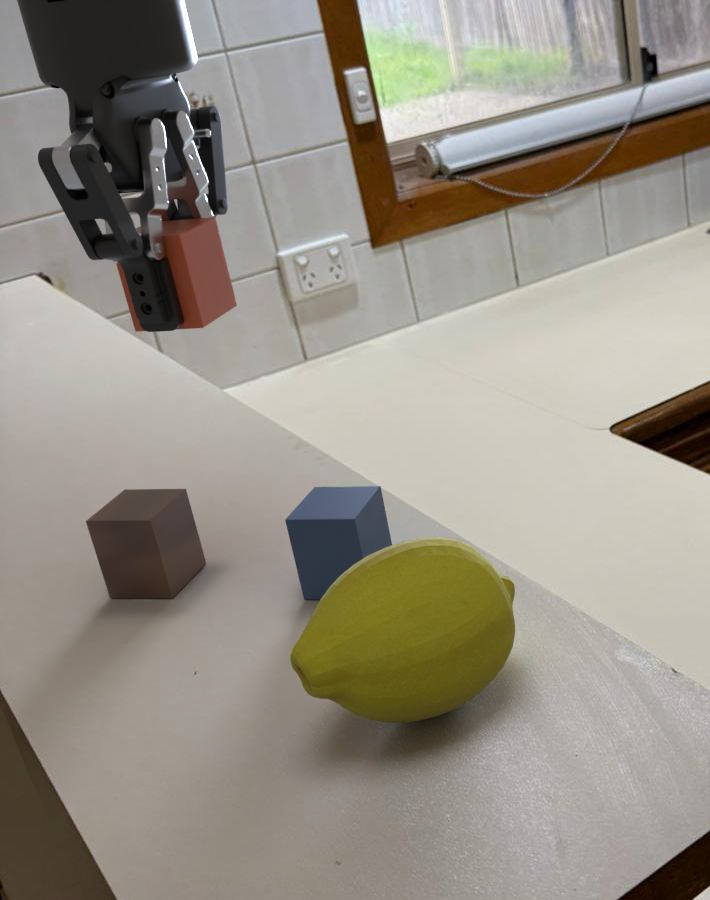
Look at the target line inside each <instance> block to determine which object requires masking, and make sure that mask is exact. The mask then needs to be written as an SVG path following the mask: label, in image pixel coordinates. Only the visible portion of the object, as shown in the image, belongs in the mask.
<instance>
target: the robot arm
mask: <svg viewBox="0 0 710 900" xmlns="http://www.w3.org/2000/svg"><path fill="white" fill-rule="evenodd" d="M16 1H17V5H18V7H19V8H18V9H19V12H20V15H21V19H22V22H23V26H24V29H25V33H26V37H27V40H28V43H29V47H30V50H31V54H32V57H33V61H34V64H35V67H36V71H37V74H38V77H39V79H40V81H41V82H42V83H43V84H44V85H45V86H46V87H48V88H51V89H61V90H62V91H63V92H64V93H65V95H66V97H67V103H68V126H69V131H70V132H69V133H70V135H69V137H68V138H66V139H65V141H63V143H61V145H57V146H52V147H42V148H40V149H39V151H38V153H37V161H38V165H39V168H40V170H41V172H42V174H43V175H44V177H45V180H46V181H47V183H48V185H49V187H50V189H51V190H52V192H53V194H54V196H55V198H56V200H57V202H58V203H59V205H60V207H61V209H62V212H63V213H64V215H65V216H66V218H67V220H68V222H69V224H70V226H71V228H72V230H73V231H74V233H75V236H76V237H77V240H78V241H79V242H80V245H81V246H82V249H83V250H84V252H85V253H86V256H87V257H88V259H90V260H91V261H102V260H108V261H112V262H113V263H115V264H116V263H119V264H120V265H121V267H122V268H123V271H124V274H125V278H126V281H127V285H128V289H129V292H130V296H131V297H132V298H131V299H132V303H133V304H134V310H135V313H136V317H137V318H138V320H139V323H140V326H141V327H142V328H143V329H144V330H145V331H144V332H148V333H158V332H159V333H160V332H173V331H175V329H176V330H178V329H177V328H178V327H180V326H181V325H183V323H184V316H183V312H182V309H181V305H180V301H179V297H178V293H177V290H176V286H175V282H174V278H173V274H172V271H171V267H170V263H169V259H168V258H163V257H164V254H165V246H164V237H163V228H162V221H171V220H184V219H197V218H210V217H215V218H216V217H217V216H223V215H226V214H227V212H228V209H229V206H228V193H227V192H228V191H227V180H226V165H225V153H224V142H223V128H222V116H221V113H220V110H219V109H218V107H217V106H216V105H210V106H200V107H198V106H197V107H194V106H192V105H190V103H189V102H190V101H189V100H188V97H187V96H186V94H185V92H184V90H183V88H182V86H181V83H180V80H179V78H178V76H177V74H181V73H184V72H188V71H190V70H192V69H193V68H194V67H196V65H197V63H198V54H197V49H196V45H195V41H194V36H193V33H192V32H193V31H192V28H191V24H190V19H189V15H188V12H187V7H186V2H185V0H16ZM206 189H207V192H208V193H205V190H206ZM130 193H140V195H139V196H135V197H122V196H121V194H130ZM175 200H176V202H175ZM131 215H138V218H139V223H140V224H139V225H140V226H141V233H142V235H140V234H139V232H138V230H137V228H138V227H136V224H135V222H134V220H133V218H132V216H131ZM216 219H217V218H216ZM96 220H102V221H104V226H105V233H103V232H102V230H101V228H100V226H99V224H98V222H97V221H96Z"/></svg>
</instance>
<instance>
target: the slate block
mask: <svg viewBox="0 0 710 900" xmlns="http://www.w3.org/2000/svg"><path fill="white" fill-rule="evenodd" d="M383 496H384V495H383V491H382V486H381V485H369V486H368V485H364V486H363V485H362V486H358V485H357V486H355V485H353V486H313V488H312V489H311V490H310V491H309V492H308V494H307V495H306V496H305V497H304V498H303V499H302V500H301V501H300V503H298V505H297V506H296V507H295V508H294V509H292V511H291V512H290V514H289V515H288V516H287V517H286V518H285V520H284V521H285V525H286V529H287V534H288V537H289V542H290V547H291V551H292V555H293V559H294V563H295V567H296V571H297V576H298V580H299V585H300V588H301V593H302V597H303V600H313V601H314V600H319V601H320V599H321V598H322V597H323V595H324V594H325V593H326V591H327V590H328V588H329V587H330V586H331V585H332V584H333V583H334V582H335V581H336V580H337V579H338V578H339V577H340V576H341V575H342V574H343V573H344V572H345V571H347V570H348V569H349V568H350V567H352V566H353V565H354V564H356V563H357V562H359V561H360V560H362V559H363V558H365V557H367V556H369V555H371V554H373V553H375V552H377V551H379V550H381V549H383V548H386V547H388V546H391V545H393V542H392V536H391V532H390V531H391V530H390V527H389V522H388V517H387V511H386V507H385V502H384V501H385V500H384V497H383Z"/></svg>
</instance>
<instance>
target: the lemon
mask: <svg viewBox="0 0 710 900" xmlns="http://www.w3.org/2000/svg"><path fill="white" fill-rule="evenodd" d="M515 595H516V588H515V583H514V582H513V581H512V580H511V579H510V577H509V576H506V575H503V574H500V573H499V571H498V569H497V568H496V567H495V566H494V565H493V564H492V563H491V562H490V560H488V558H487V557H485V556H484V555H483V554H481V553H480V552H479V551H478V550H477V549H475V548H474V547H473V546H471V545H470V544H469V543H466V542H462V541H460V540H457V539H455V538H448V537H437V536H433V537H432V536H430V537H418V538H417V537H416V538H413V539H408V540H404V541H401V542H398V543H395V544H392V545H391V546H388V547H386V548H383V549H381V550H379V551H377V552H375V553H373V554H371V555H369V556H367V557H365V558H363V559H362V560H360V561H359V562H357V563H356V564H354V565H353V566H352V567H350V568H349V569H348V570H347V571H345V572H344V573H343V574H342V575H341V576H340V577H339V578H338V579H337V580H336V581H335V582H334V583H333V584H332V585H331V586H330V587H329V588H328V590H327V591H326V593H325V594H324V595H323V597H322V598H321V599H320V600H319V601H318V603H317V604H316V606H315V607H314V610H313V611H312V613H311V616H310V618H309V620H308V622H307V625H306V626H305V628H304V630H303V631H302V633H301V634H300V636H299V637H298V639H297V641H296V642H295V644H294V645H293V647H292V649H291V652H290V655H289V656H290V658H289V659H290V664H291V667H292V670H293V671H294V672H295V673H296V674H297V675H298V678H299V679H300V682H301V685H302V687H303V689H304V692H306V694H307V695H309V696H311V697H312V698H315V699H320V700H329V701H332V702H334V703H336V704H337V705H338V706H340V707H342V708H343V709H345V710H346V711H348V712H350V713H351V714H354V715H356V716H359V717H362V718H365V719H368V720H371V721H376V722H383V723H397V724H398V723H399V724H400V723H403V724H404V723H410V722H411V723H412V722H419V721H423V720H424V721H425V720H427V719H432V718H436V717H439V716H441V715H444V714H446V713H449V712H451V711H454V710H456V709H457V708H459V707H461V706H462V705H464V704H466V703H468V702H470V700H472V699H473V698H475V697H476V696H477V695H478V694H479V693H481V692H482V691H483V690H484V689H485V688H486V687H487V686H488V685H490V684H491V683H492V682H493V681H494V680H495V679H496V677H497V676H498V674H499V673H500V672H501V670H502V669H503V668H504V667H505V664H506V663H507V661H508V658H509V657H510V654H511V652H512V650H513V648H514V642H515V635H516V622H515V614H514V609H513V608H514V607H513V604H514V601H515V600H514V599H515Z"/></svg>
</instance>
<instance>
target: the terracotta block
mask: <svg viewBox="0 0 710 900" xmlns="http://www.w3.org/2000/svg"><path fill="white" fill-rule="evenodd" d="M136 228H137V230H138V232H139V234H140V235H142V233H141V225H140V226H138V227H136ZM162 228H163V237H164V246H165V254H164V257H163V258H168V259H169V263H170V267H171V271H172V274H173V278H174V282H175V286H176V290H177V293H178V297H179V301H180V305H181V309H182V312H183V316H184V323H183V325H181V326H180V327H178V328H177V329H175V330H191V329H203V328H205V327H207V326H208V325H210V324H211V323H213V322H215V321H216V320H217V319H220V318H221V317H222V316H224V315H225V314H226V313H228V312H230V311H231V310H233V309H234V308H236V307H237V306H238V303H237V300H236V296H235V291H234V287H233V283H232V278H231V274H230V271H229V267H228V266H229V265H228V263H227V259H226V254H225V251H224V246H223V241H222V238H221V234H220V230H219V225H218V221H217V218H215V217H210V218H197V219H184V220H171V221H162ZM115 264H116V267H117V272H118V275H119V278H120V283H121V286H122V289H123V293H124V296H125V300H126V303H127V304H126V305H127V307H128V310H129V314H130V317H131V321H132V324H133V328H134V331H135V332H136V333H138V332H139V333H140V332H146V331H145V330H144V329H143V328H142V327H141V326H140V323H139V320H138V318H137V317H136V313H135V310H134V304H133V303H132V299H131V298H132V297H131V296H130V292H129V289H128V285H127V281H126V278H125V274H124V271H123V268H122V267H121V265H120V264H119V263H115ZM175 330H174V331H175Z"/></svg>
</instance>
